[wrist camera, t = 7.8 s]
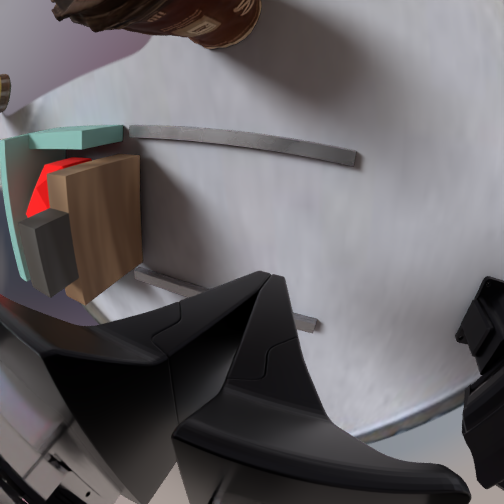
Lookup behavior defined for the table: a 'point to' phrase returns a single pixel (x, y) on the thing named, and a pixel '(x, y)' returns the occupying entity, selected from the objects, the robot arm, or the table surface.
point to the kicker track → (243, 140)
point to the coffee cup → (167, 18)
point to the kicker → (86, 228)
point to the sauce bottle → (4, 91)
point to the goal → (40, 168)
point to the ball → (40, 192)
